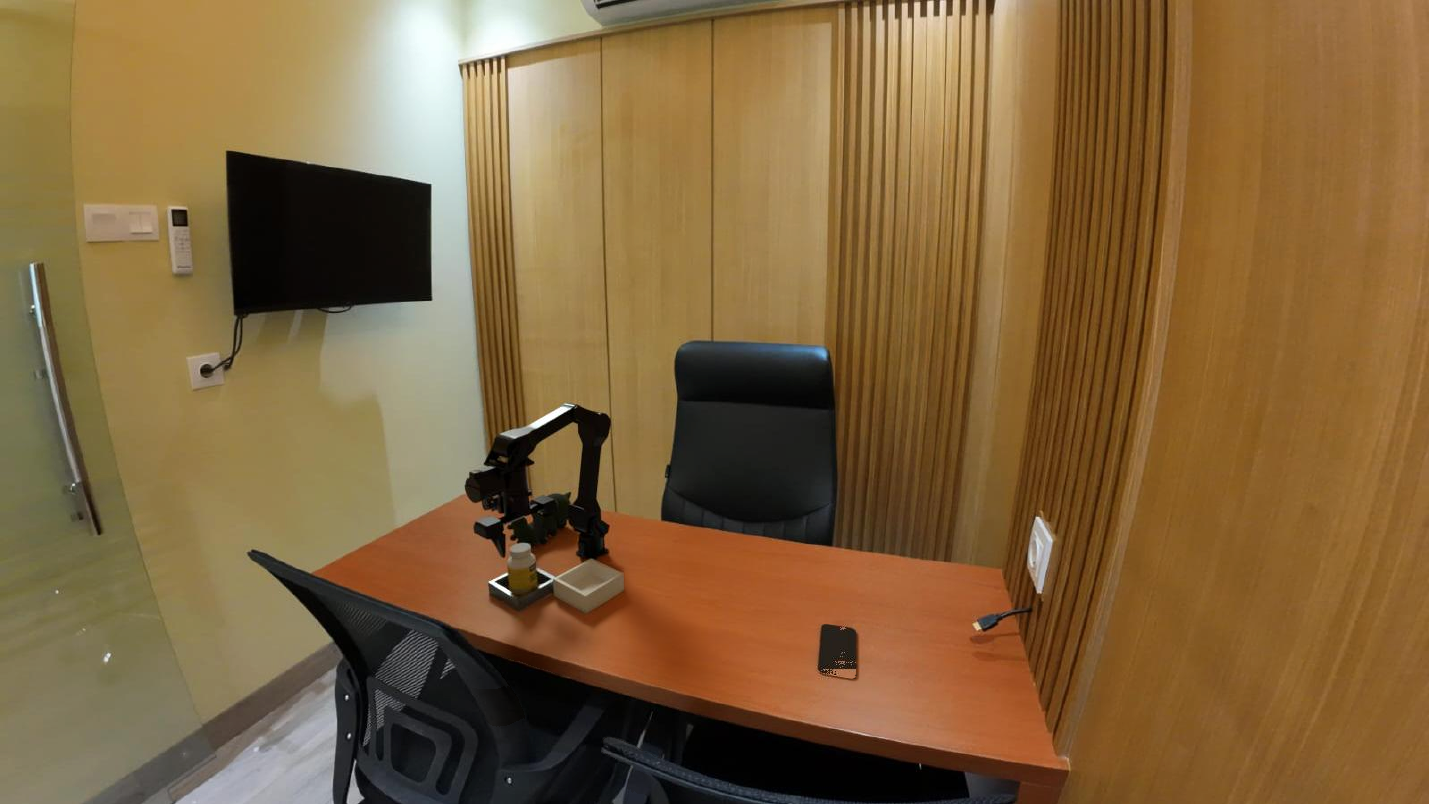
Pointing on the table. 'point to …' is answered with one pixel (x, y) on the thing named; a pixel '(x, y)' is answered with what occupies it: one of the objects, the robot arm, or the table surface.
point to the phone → (837, 648)
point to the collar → (521, 602)
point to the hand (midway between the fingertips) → (520, 549)
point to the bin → (588, 585)
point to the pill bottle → (522, 569)
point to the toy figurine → (559, 520)
